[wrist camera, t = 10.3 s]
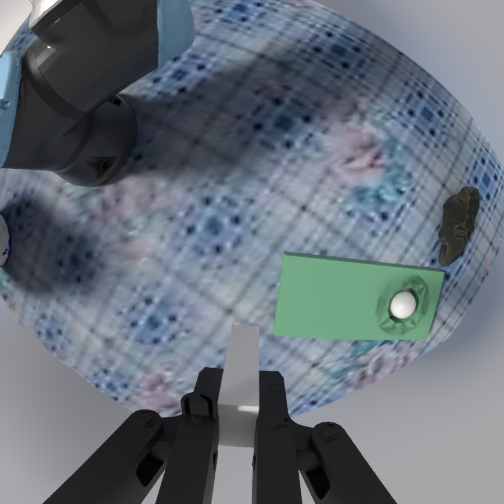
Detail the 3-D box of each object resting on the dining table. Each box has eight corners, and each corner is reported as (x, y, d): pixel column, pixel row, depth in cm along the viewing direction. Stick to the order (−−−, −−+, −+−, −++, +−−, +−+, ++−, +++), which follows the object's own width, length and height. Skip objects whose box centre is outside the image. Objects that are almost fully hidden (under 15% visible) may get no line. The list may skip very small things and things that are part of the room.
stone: (423, 257, 36) (441, 264, 30) (446, 178, 33) (466, 177, 28) (450, 270, 36) (468, 278, 31) (471, 196, 33) (491, 197, 28)
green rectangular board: (273, 327, 38) (274, 335, 35) (283, 251, 36) (285, 255, 34) (419, 332, 37) (426, 338, 35) (436, 268, 35) (444, 272, 33)
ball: (388, 288, 35) (414, 288, 32) (394, 294, 38) (418, 294, 35) (385, 316, 34) (412, 316, 31) (391, 319, 36) (415, 320, 34)
